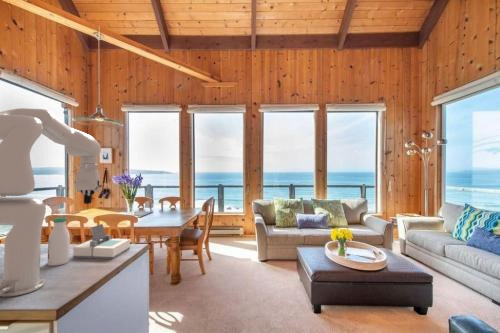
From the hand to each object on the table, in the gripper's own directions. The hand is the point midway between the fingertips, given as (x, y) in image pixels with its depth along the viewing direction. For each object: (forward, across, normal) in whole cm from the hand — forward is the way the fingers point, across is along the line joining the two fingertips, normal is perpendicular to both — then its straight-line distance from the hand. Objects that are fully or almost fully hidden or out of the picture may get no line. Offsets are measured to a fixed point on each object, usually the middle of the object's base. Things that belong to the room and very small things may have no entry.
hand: (87, 203), depth 128 cm
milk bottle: (+25, -2, -15) cm, 29 cm away
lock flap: (+16, +6, 0) cm, 17 cm away
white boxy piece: (+25, +9, 0) cm, 26 cm away
